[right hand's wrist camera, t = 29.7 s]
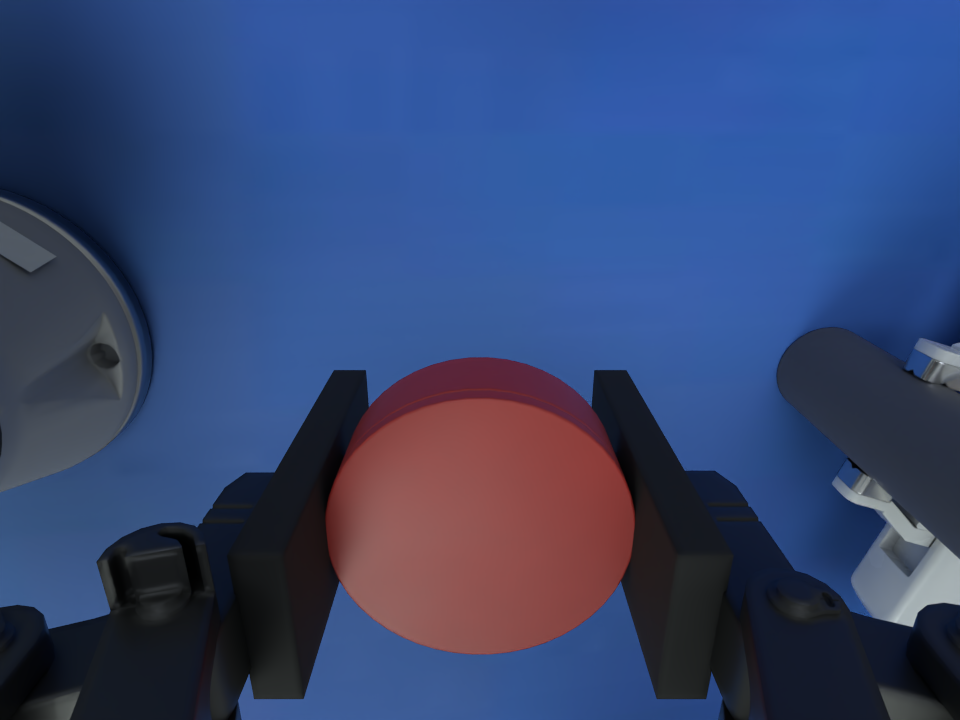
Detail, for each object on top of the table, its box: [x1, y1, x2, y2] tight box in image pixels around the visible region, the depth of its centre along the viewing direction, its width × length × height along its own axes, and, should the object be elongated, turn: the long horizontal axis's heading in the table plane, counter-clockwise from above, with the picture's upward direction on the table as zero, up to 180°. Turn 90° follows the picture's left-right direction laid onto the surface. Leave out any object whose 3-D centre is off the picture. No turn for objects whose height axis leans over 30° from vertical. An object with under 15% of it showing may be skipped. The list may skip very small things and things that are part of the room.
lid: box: [325, 357, 635, 654], centre depth 11 cm, size 6×6×2 cm
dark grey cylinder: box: [777, 327, 960, 559], centre depth 24 cm, size 5×5×20 cm
